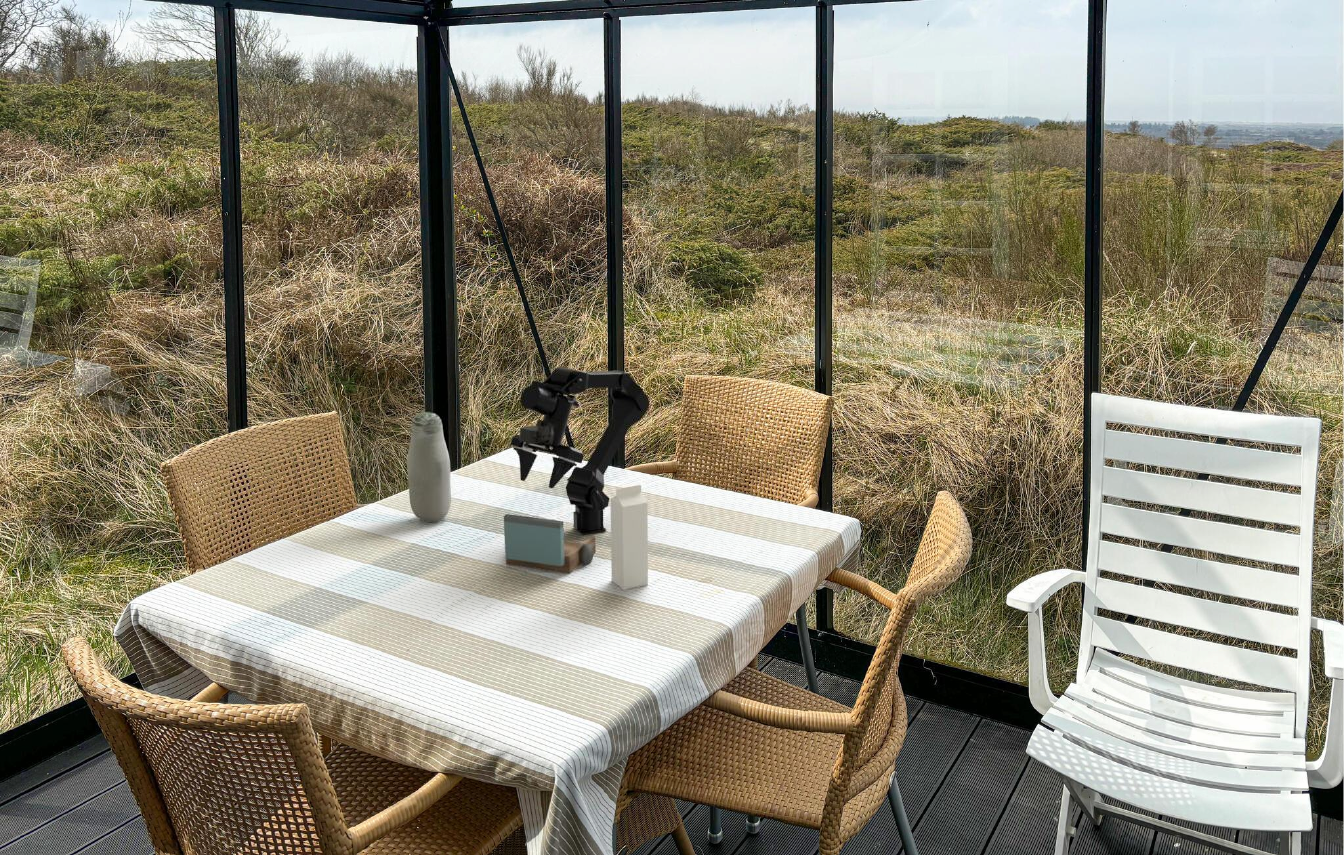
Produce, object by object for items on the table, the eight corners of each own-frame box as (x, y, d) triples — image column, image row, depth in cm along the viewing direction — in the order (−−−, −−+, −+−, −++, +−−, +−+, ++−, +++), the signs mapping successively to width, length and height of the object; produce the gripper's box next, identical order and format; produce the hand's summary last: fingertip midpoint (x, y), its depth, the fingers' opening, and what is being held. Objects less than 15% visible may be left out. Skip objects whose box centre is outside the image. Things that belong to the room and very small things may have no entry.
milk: (648, 585, 250) (648, 488, 245) (623, 590, 248) (622, 492, 242) (635, 575, 256) (635, 480, 250) (610, 580, 253) (609, 484, 247)
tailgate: (508, 555, 261) (507, 514, 258) (564, 563, 256) (563, 521, 254) (505, 558, 259) (503, 516, 257) (561, 566, 255) (560, 523, 252)
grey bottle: (403, 522, 290) (396, 414, 283) (433, 511, 298) (427, 406, 291) (430, 529, 285) (424, 419, 278) (460, 518, 293) (455, 411, 286)
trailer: (528, 543, 275) (527, 525, 274) (602, 553, 269) (602, 535, 268) (499, 563, 263) (498, 545, 262) (576, 574, 256) (576, 555, 255)
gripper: (504, 405, 268) (484, 469, 267) (562, 417, 257) (542, 484, 255) (535, 417, 277) (517, 479, 275) (593, 429, 266) (574, 494, 264)
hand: (536, 484), depth 267 cm, fingers open, 9 cm apart
